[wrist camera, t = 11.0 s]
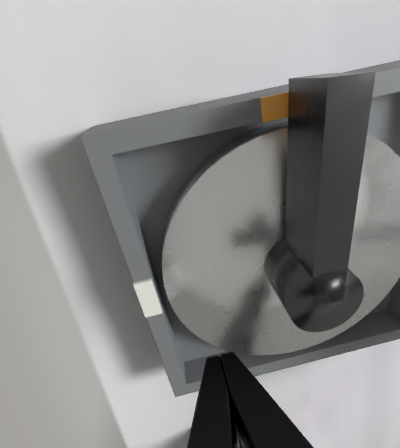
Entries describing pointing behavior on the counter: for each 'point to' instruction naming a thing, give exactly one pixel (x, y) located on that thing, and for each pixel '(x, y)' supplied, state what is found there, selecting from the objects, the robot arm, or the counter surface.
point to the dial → (288, 226)
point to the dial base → (170, 187)
